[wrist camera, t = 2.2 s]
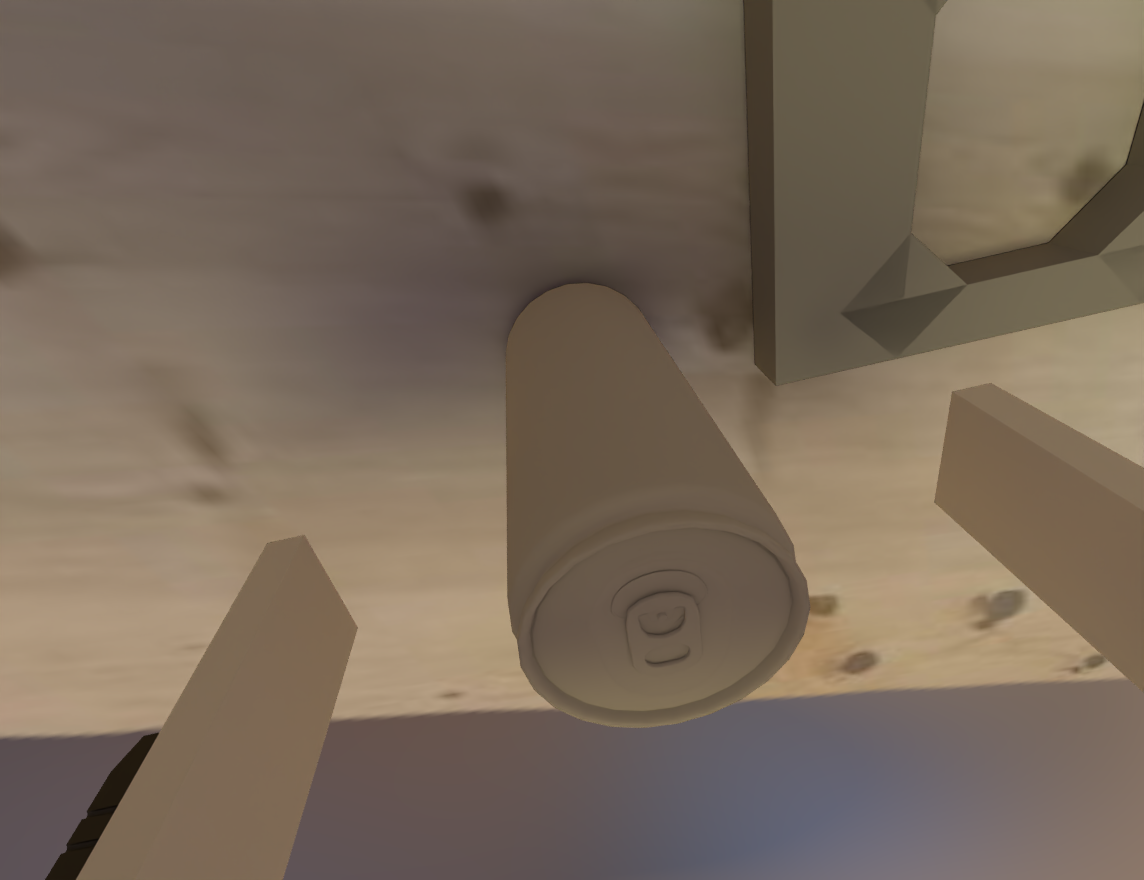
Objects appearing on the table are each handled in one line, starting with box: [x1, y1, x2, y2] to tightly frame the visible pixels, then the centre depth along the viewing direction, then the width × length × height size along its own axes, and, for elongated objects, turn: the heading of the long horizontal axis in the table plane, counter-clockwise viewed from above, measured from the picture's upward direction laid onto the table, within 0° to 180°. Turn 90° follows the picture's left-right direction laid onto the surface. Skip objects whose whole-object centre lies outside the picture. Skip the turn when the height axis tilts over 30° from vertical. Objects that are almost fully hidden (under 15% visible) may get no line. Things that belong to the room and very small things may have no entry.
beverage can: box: [506, 283, 810, 728], centre depth 14 cm, size 5×5×12 cm
